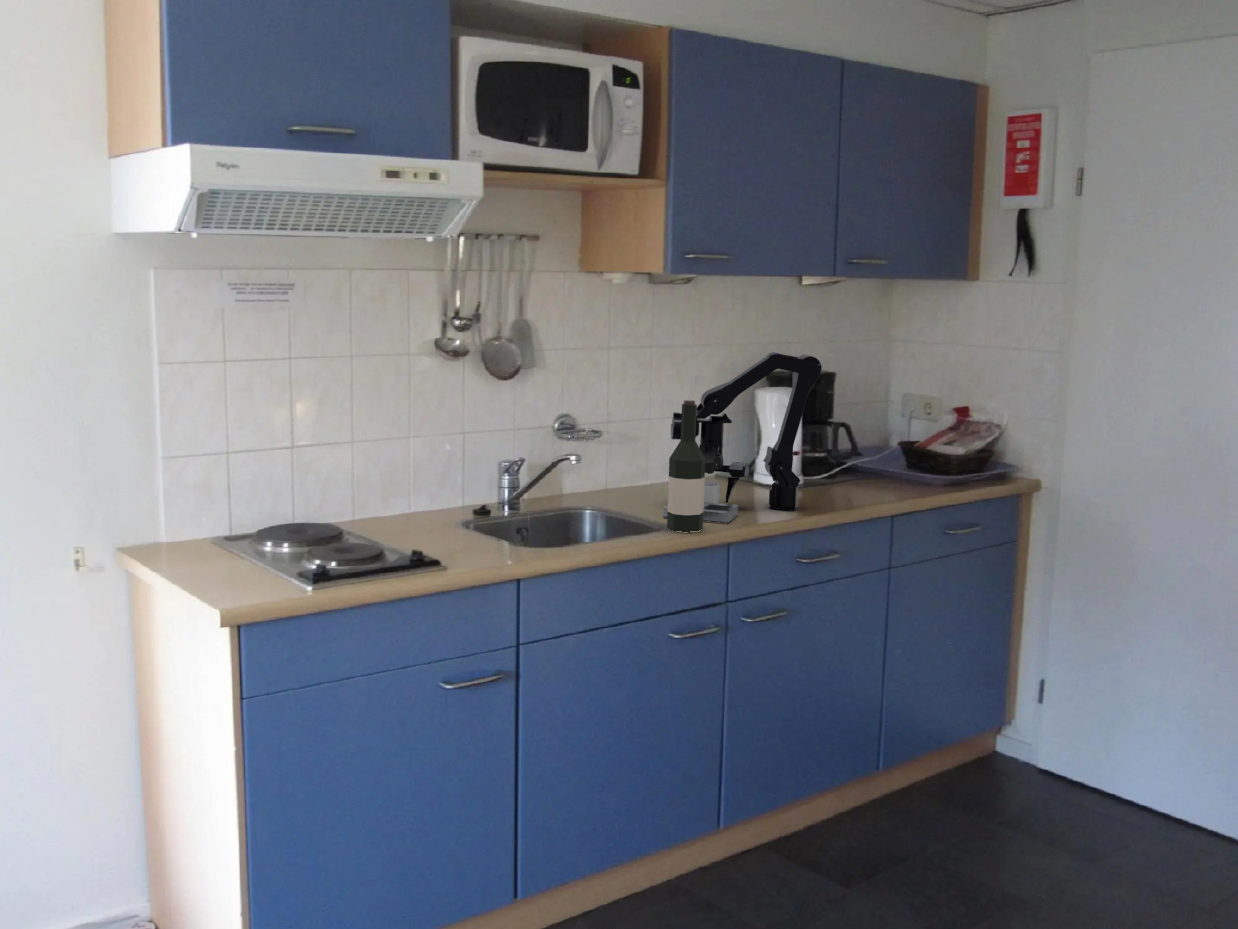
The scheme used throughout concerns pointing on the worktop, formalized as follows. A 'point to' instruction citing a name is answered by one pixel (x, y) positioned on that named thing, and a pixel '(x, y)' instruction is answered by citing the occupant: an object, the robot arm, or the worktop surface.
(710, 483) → the plug
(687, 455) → the wine bottle
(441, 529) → the worktop surface
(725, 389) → the robot arm
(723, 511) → the socket plate
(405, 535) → the worktop surface
